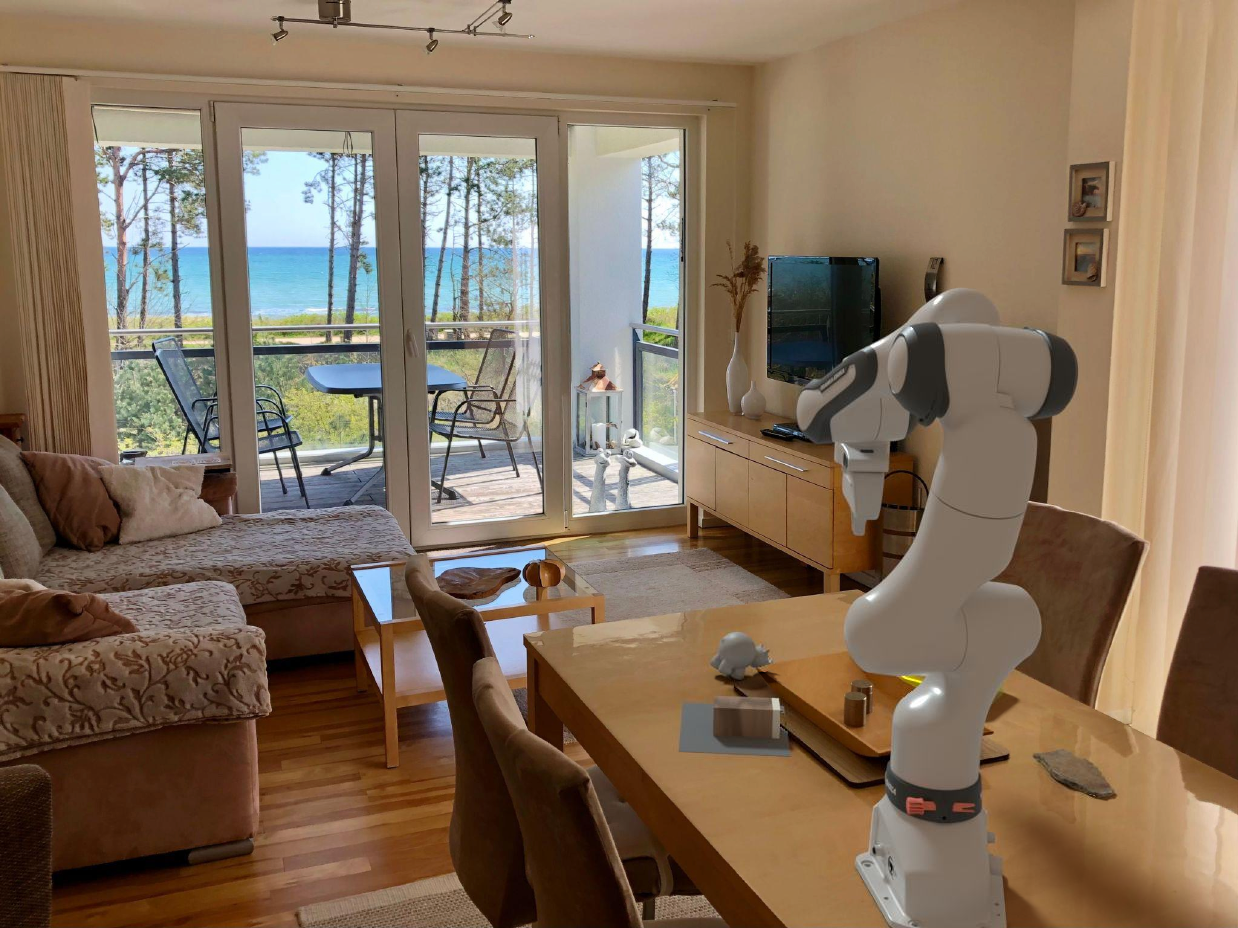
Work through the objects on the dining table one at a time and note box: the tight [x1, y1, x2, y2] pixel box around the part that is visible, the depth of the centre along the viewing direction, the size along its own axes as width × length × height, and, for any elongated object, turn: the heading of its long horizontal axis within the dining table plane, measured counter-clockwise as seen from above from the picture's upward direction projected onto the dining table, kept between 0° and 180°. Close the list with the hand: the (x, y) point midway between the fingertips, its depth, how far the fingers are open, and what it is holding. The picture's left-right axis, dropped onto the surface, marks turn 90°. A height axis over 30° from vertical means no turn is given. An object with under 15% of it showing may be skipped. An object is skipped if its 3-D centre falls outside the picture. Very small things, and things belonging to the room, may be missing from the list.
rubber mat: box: [678, 701, 792, 757], centre depth 187 cm, size 20×18×1 cm
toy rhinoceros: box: [710, 631, 774, 681], centre depth 211 cm, size 7×12×8 cm, turn 107°
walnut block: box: [713, 695, 781, 738], centre depth 186 cm, size 5×5×11 cm
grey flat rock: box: [1032, 748, 1115, 798], centre depth 172 cm, size 8×16×2 cm, turn 7°
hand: (858, 533), depth 183 cm, fingers closed
